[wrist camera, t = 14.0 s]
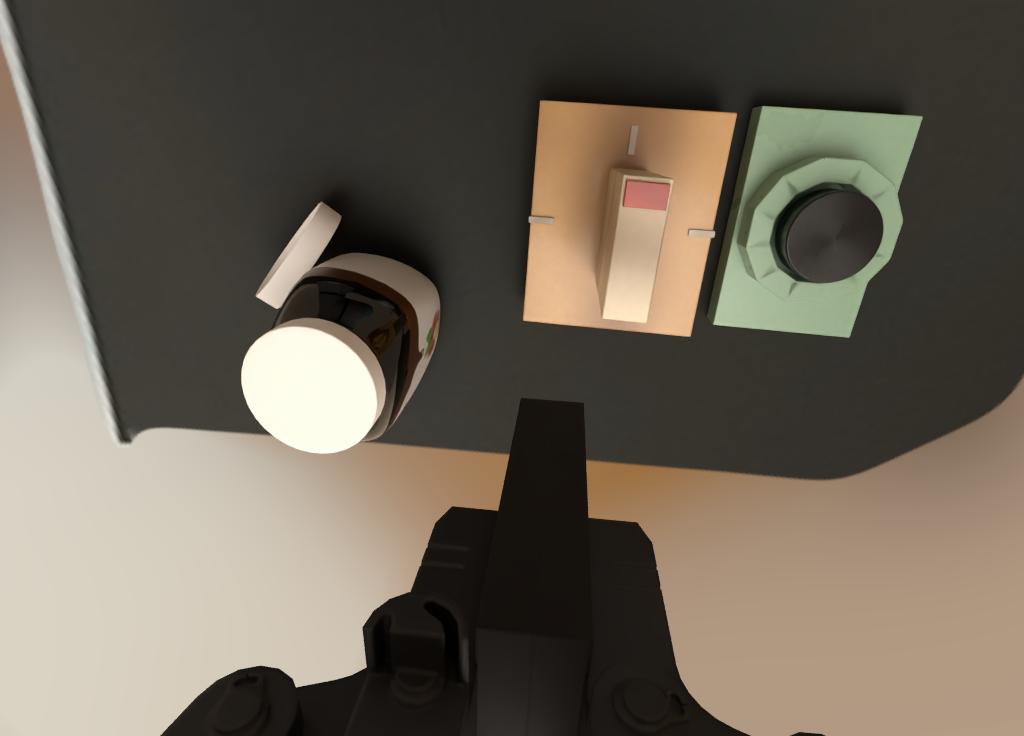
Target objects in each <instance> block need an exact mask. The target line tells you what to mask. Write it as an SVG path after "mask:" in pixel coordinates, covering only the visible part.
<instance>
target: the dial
mask: <svg viewBox="0 0 1024 736" xmlns="http://www.w3.org/2000/svg"><path fill="white" fill-rule="evenodd" d="M673 184H674V179H672V178H669V177H666V176H663V175H660V174H656V173H653V172H650V171H646V170H634V169H623V168H611V169H610V175H609V182H608V189H607V196H606V203H605V210H604V217H603V224H602V231H601V238H600V245H599V252H598V259H597V266H596V273H595V280H596V286H597V292H598V299H599V305H600V311H601V317H602V319H608V320H617V321H627V322H636V323H647V322H648V316H649V311H650V306H651V300H652V295H653V290H654V285H655V279H656V274H657V269H658V263H659V258H660V253H661V247H662V242H663V237H664V231H665V226H666V221H667V216H668V210H669V205H670V200H671V194H672V189H673Z"/></svg>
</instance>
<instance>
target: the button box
mask: <svg viewBox="0 0 1024 736" xmlns="http://www.w3.org/2000/svg"><path fill="white" fill-rule="evenodd" d="M922 118H923V116H914V115H898V114H882V113H867V112H851V111H836V110H820V109H805V108H789V107H773V106H760V107H756V108H753V109H752V113H751V117H750V122H749V127H748V131H747V136H746V140H745V145H744V149H743V154H742V159H741V163H740V168H739V172H738V177H737V181H736V186H735V191H734V195H733V200H732V204H731V209H730V213H729V218H728V222H727V227H726V232H725V236H724V241H723V245H722V250H721V254H720V259H719V264H718V268H717V273H716V277H715V282H714V286H713V291H712V296H711V300H710V305H709V309H708V314H707V317H708V319H709V320H710V321H711V322H712V324H713V325H722V326H733V327H743V328H754V329H764V330H775V331H786V332H796V333H807V334H817V335H828V336H839V337H850V334H851V331H852V328H853V325H854V322H855V319H856V316H857V313H858V310H859V307H860V304H861V301H862V298H863V295H864V292H865V289H866V286H867V283H868V281H869V280H870V279H871V278H872V277H873V276H874V275H875V274H876V273H877V272H878V271H879V270H880V269H881V268H882V267H883V266H884V265H885V264H886V263H887V262H888V261H889V259H890V258H891V255H892V252H893V249H894V246H895V243H896V241H897V238H898V235H899V232H900V229H901V226H902V223H903V217H902V213H901V209H900V204H899V200H898V196H897V193H898V190H899V187H900V184H901V181H902V178H903V175H904V172H905V169H906V166H907V163H908V160H909V157H910V154H911V151H912V148H913V145H914V142H915V139H916V136H917V133H918V130H919V127H920V124H921V121H922ZM826 188H834V189H841V190H847V191H854V192H857V193H861V194H863V195H865V196H867V197H868V198H870V199H871V200H872V201H873V202H874V203H875V204H876V206H877V207H878V209H879V210H880V212H881V215H882V218H883V224H884V231H883V238H882V242H881V244H880V247H879V249H878V251H877V253H876V254H875V256H874V257H873V259H872V260H871V261H870V262H869V263H868V264H867V265H866V266H865V267H864V268H863V269H862V270H860V271H859V272H858V273H856V274H854V275H853V276H851V277H849V278H847V279H844V280H841V281H838V282H833V283H817V282H813V281H809V280H807V279H805V278H803V277H801V276H799V275H797V274H796V273H794V272H792V271H791V270H789V269H788V268H787V267H785V266H784V265H783V263H782V262H781V261H780V259H779V257H778V255H777V252H776V248H775V233H776V229H777V226H778V223H779V221H780V219H781V217H782V216H783V214H784V213H785V211H786V210H787V209H788V208H789V207H790V206H791V205H792V204H793V203H794V202H795V201H796V200H797V199H799V198H801V197H802V196H804V195H806V194H808V193H810V192H813V191H815V190H820V189H826Z"/></svg>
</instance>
